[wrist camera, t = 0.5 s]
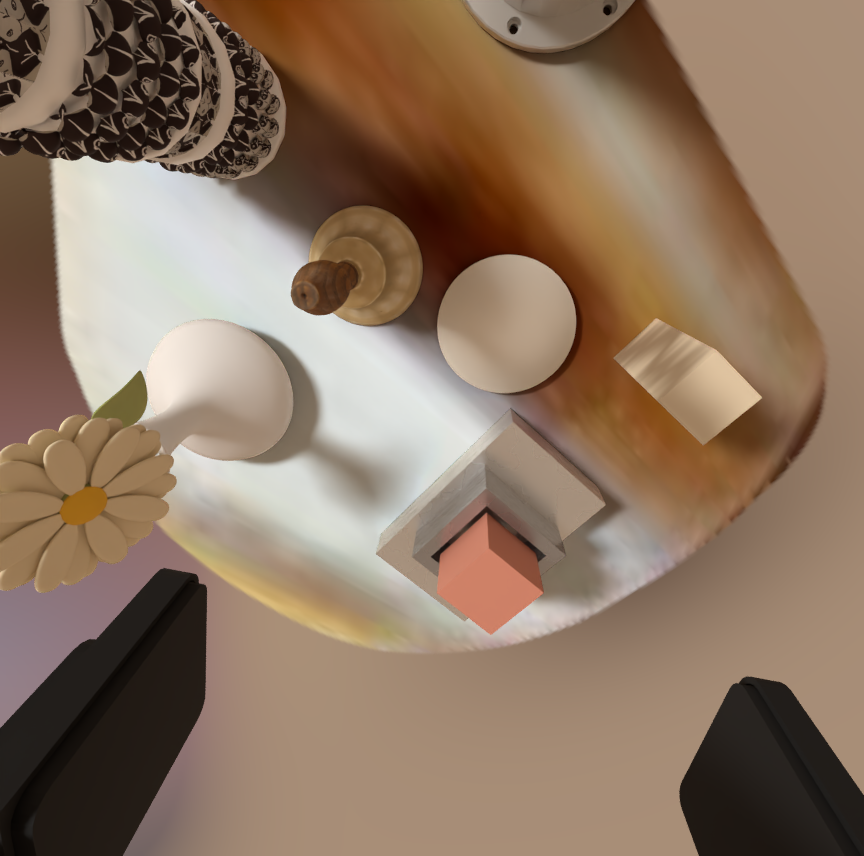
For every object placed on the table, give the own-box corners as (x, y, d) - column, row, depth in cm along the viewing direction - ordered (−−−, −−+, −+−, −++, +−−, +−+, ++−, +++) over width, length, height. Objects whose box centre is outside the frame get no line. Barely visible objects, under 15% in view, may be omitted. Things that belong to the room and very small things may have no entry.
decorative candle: (317, 149, 35) (23, 14, 12) (204, 208, 37) (-240, 190, 14) (249, -4, 32) (-313, -569, 9) (129, 69, 34) (-587, -246, 11)
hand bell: (362, 177, 36) (285, 148, 21) (446, 268, 38) (431, 300, 23) (286, 266, 38) (170, 296, 23) (369, 347, 40) (309, 422, 25)
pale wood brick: (656, 318, 38) (716, 350, 28) (692, 354, 39) (762, 397, 29) (613, 358, 39) (657, 401, 30) (648, 392, 40) (703, 445, 31)
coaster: (469, 231, 36) (469, 231, 36) (599, 286, 37) (601, 288, 36) (418, 361, 40) (417, 363, 39) (537, 408, 41) (538, 412, 40)
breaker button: (486, 512, 38) (488, 548, 33) (535, 553, 39) (543, 592, 34) (440, 554, 39) (436, 593, 35) (488, 592, 40) (490, 634, 36)
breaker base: (510, 408, 41) (516, 440, 35) (597, 486, 43) (617, 529, 37) (381, 533, 46) (368, 580, 40) (464, 598, 48) (463, 652, 42)
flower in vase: (250, 476, 45) (16, 750, 22) (135, 391, 43) (-262, 596, 20) (340, 365, 41) (168, 559, 18) (217, 265, 38) (-164, 335, 15)
